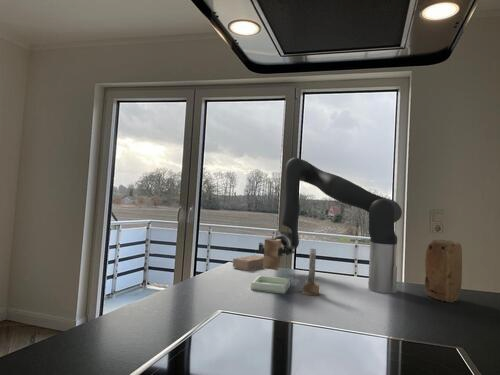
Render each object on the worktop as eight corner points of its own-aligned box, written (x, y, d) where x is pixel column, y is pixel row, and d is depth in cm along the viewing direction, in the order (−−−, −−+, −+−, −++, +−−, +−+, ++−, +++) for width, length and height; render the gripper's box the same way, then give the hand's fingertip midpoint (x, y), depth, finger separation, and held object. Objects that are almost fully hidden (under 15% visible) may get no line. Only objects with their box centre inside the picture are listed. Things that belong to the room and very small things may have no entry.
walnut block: (279, 267, 128) (281, 239, 128) (277, 270, 123) (278, 240, 123) (266, 265, 129) (267, 237, 129) (263, 268, 125) (264, 239, 125)
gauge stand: (318, 292, 123) (321, 248, 123) (317, 296, 118) (320, 250, 119) (304, 290, 124) (306, 247, 125) (302, 294, 120) (304, 249, 120)
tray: (290, 285, 130) (290, 278, 130) (284, 293, 119) (285, 286, 119) (259, 282, 133) (259, 275, 133) (251, 289, 122) (251, 282, 122)
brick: (252, 263, 170) (252, 253, 170) (267, 266, 165) (267, 256, 165) (231, 269, 156) (232, 258, 156) (247, 272, 151) (248, 260, 151)
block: (463, 303, 119) (465, 242, 119) (446, 304, 116) (448, 242, 117) (436, 294, 129) (438, 238, 129) (420, 295, 126) (422, 238, 127)
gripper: (262, 234, 142) (251, 239, 126) (298, 237, 138) (292, 243, 122) (261, 252, 142) (250, 260, 126) (297, 256, 138) (290, 265, 122)
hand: (271, 251), depth 124 cm, fingers closed on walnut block, 5 cm apart
